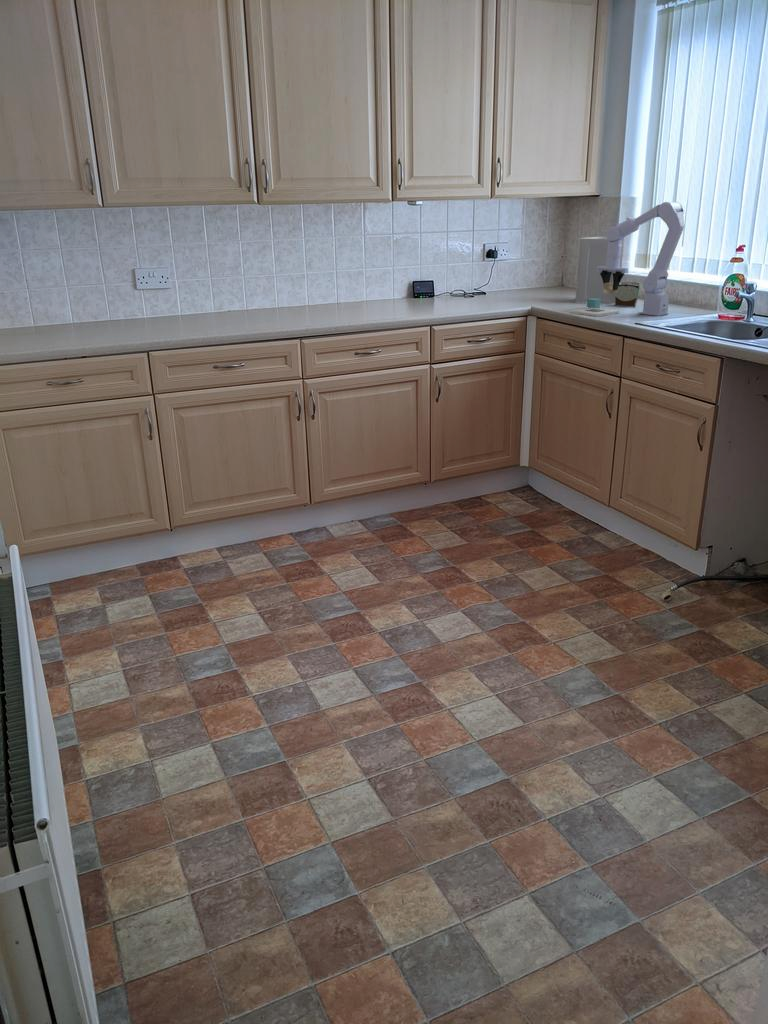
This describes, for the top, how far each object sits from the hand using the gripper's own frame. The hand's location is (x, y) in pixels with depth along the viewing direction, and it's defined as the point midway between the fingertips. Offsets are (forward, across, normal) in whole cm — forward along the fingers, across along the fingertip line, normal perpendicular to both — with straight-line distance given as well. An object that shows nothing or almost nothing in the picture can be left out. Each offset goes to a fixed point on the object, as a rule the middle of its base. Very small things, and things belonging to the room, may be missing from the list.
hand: (610, 289), depth 359 cm
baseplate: (+8, -3, +14) cm, 16 cm away
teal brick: (+8, +7, +2) cm, 11 cm away
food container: (+9, +2, -16) cm, 19 cm away
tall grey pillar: (+9, +21, -18) cm, 29 cm away
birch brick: (+1, 0, 0) cm, 1 cm away
